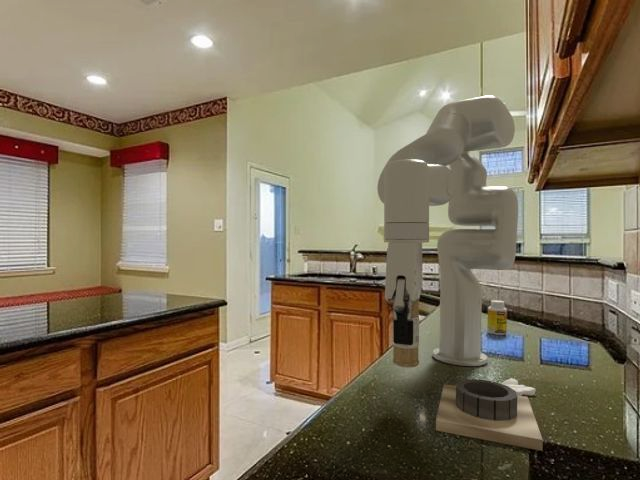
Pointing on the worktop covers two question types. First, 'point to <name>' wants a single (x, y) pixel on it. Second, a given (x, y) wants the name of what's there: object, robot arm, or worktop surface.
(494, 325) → the supplement bottle
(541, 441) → the socket board
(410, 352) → the sprinkles bottle
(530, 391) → the acanthus leaf ornament
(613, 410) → the worktop surface
